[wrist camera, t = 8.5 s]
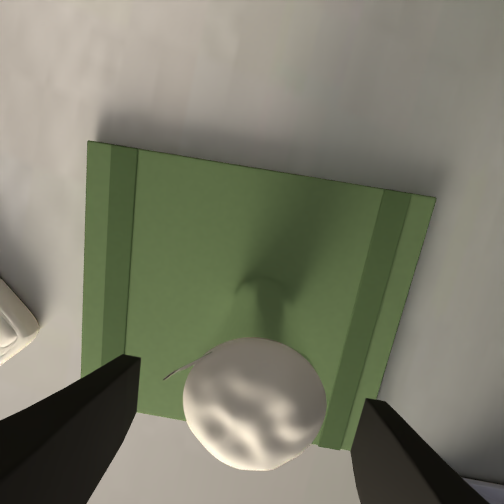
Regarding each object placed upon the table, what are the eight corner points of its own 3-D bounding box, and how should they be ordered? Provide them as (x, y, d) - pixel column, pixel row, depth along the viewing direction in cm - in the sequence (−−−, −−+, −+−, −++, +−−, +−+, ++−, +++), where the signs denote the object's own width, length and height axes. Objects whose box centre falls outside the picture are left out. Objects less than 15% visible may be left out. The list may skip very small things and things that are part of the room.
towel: (430, 196, 17) (438, 197, 16) (357, 442, 21) (361, 454, 20) (95, 141, 17) (85, 139, 16) (86, 394, 21) (78, 403, 20)
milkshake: (258, 236, 17) (239, 322, 7) (318, 310, 18) (373, 474, 8) (195, 286, 18) (106, 421, 8) (255, 354, 19) (238, 548, 9)
